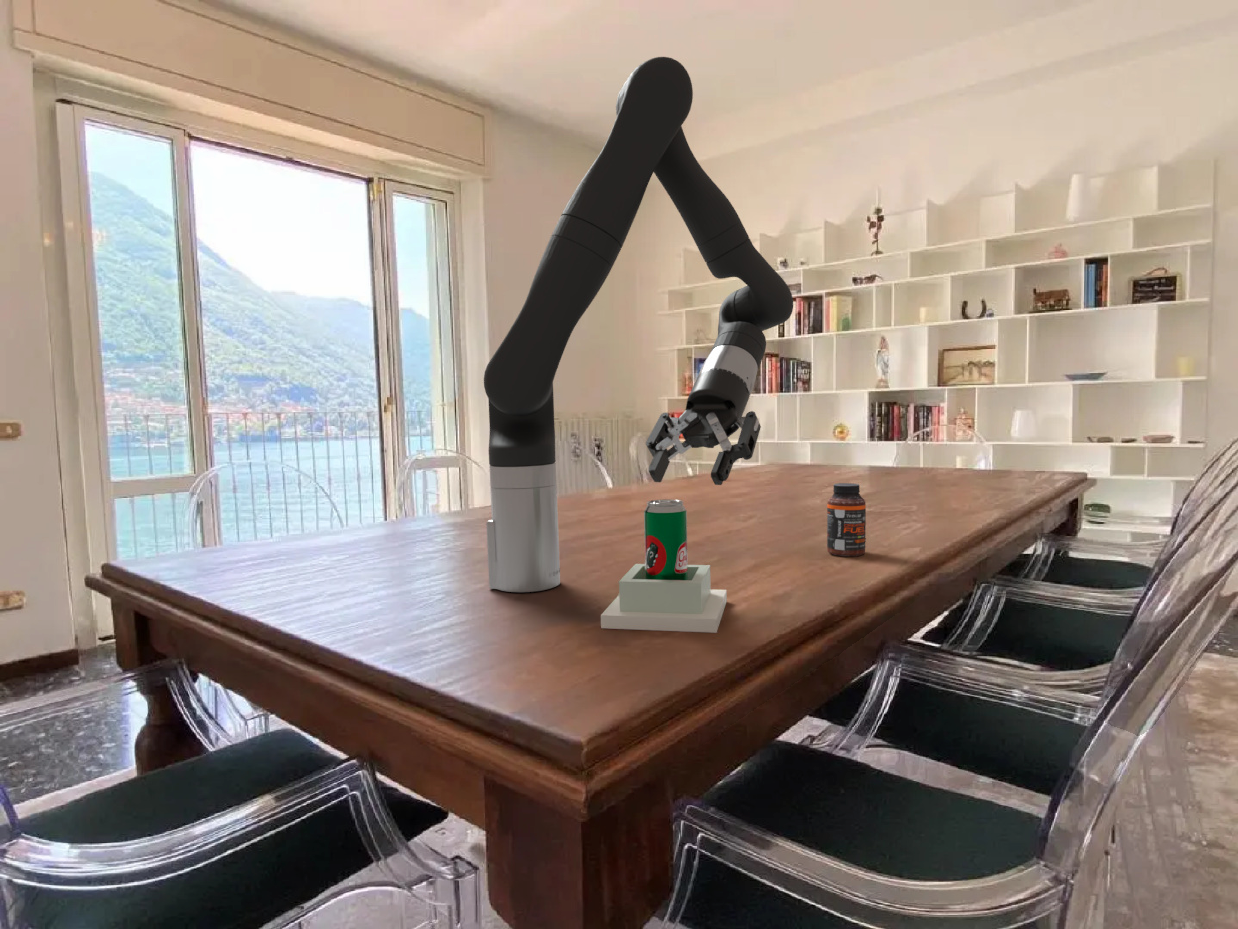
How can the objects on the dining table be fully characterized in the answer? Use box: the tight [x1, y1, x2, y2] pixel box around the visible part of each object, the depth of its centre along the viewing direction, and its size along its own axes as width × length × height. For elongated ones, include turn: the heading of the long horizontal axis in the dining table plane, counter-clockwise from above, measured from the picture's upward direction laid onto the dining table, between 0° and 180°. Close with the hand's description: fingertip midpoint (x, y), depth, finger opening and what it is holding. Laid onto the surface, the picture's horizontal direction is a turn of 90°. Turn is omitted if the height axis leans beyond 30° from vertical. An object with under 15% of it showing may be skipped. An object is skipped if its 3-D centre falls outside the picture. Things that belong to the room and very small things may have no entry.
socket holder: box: [600, 563, 728, 634], centre depth 90 cm, size 13×13×5 cm
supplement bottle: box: [826, 482, 867, 557], centre depth 121 cm, size 6×6×11 cm
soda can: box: [643, 498, 689, 580], centre depth 89 cm, size 5×5×12 cm
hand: (684, 479), depth 93 cm, fingers open, 8 cm apart
